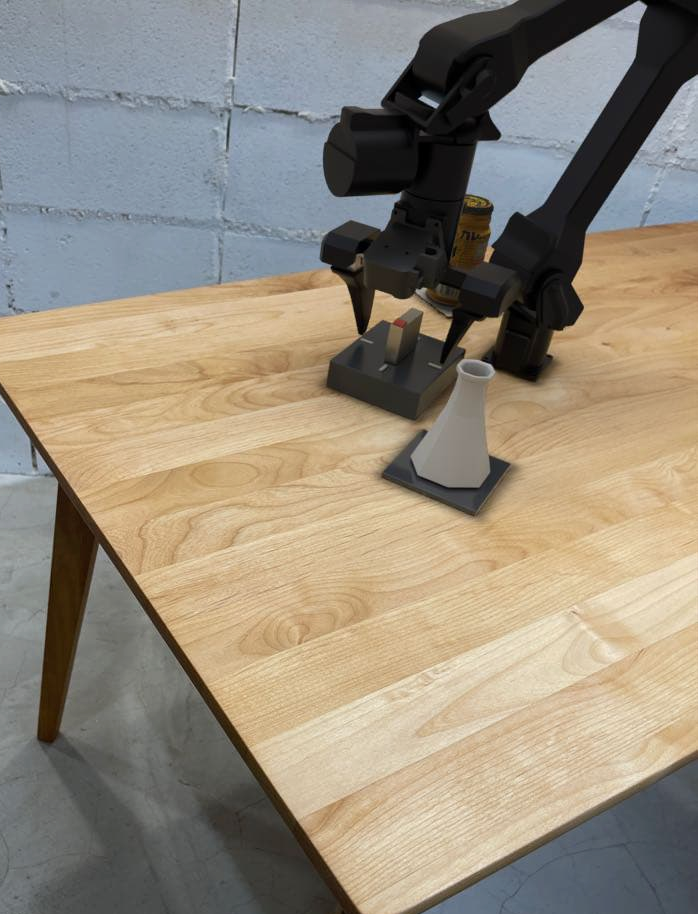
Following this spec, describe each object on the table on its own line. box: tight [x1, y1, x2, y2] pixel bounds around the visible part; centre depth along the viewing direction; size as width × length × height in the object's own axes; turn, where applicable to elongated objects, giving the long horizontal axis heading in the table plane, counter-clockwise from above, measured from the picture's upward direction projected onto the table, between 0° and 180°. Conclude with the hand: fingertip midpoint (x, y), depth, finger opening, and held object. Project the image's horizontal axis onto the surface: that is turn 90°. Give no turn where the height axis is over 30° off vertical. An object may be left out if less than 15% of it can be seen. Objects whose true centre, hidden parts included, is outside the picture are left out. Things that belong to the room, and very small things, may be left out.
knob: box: [384, 307, 425, 365], centre depth 84 cm, size 5×1×4 cm, turn 149°
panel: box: [325, 319, 467, 421], centre depth 87 cm, size 12×10×3 cm
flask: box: [411, 358, 497, 487], centre depth 72 cm, size 7×7×10 cm
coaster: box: [380, 428, 512, 517], centre depth 76 cm, size 9×9×1 cm
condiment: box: [415, 193, 495, 318], centre depth 101 cm, size 7×8×12 cm
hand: (401, 348), depth 85 cm, fingers open, 9 cm apart
